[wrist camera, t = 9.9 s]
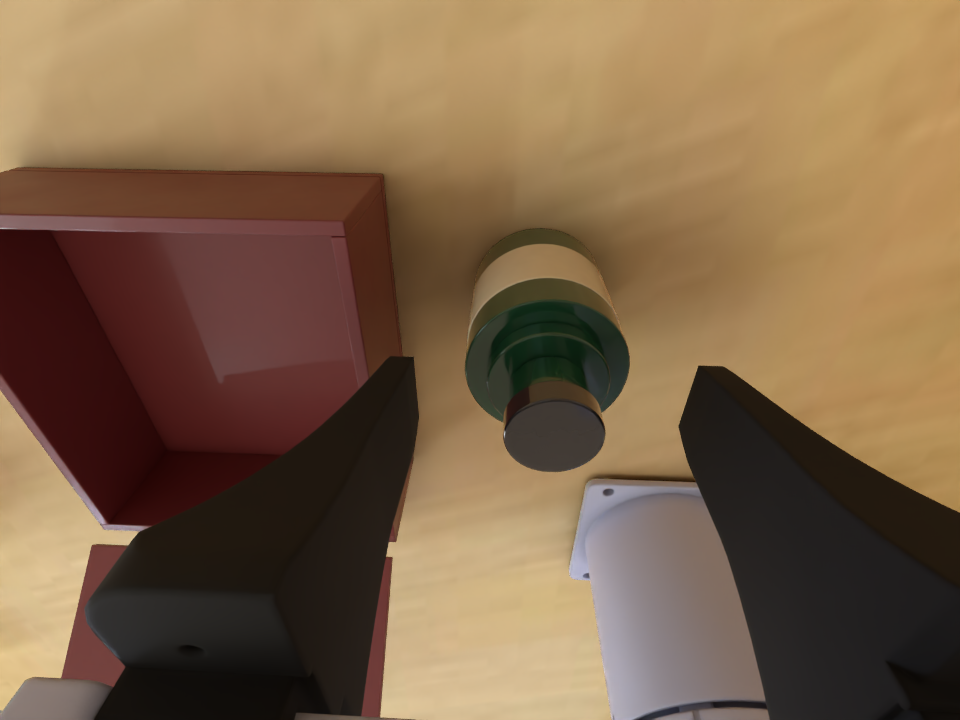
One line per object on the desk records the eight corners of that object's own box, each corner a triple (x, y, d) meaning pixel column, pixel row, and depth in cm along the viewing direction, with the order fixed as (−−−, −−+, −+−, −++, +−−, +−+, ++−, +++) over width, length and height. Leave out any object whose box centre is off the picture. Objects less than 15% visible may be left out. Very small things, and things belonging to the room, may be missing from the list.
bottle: (609, 228, 15) (678, 361, 9) (590, 342, 18) (634, 505, 12) (473, 225, 16) (453, 354, 9) (474, 339, 18) (457, 498, 12)
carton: (382, 173, 15) (344, 220, 11) (413, 458, 22) (396, 542, 19) (17, 167, 15) (-134, 211, 12) (167, 449, 23) (103, 530, 19)
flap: (375, 752, 16) (378, 747, 17) (391, 558, 18) (392, 556, 18) (47, 733, 17) (55, 728, 17) (91, 545, 18) (97, 543, 19)
